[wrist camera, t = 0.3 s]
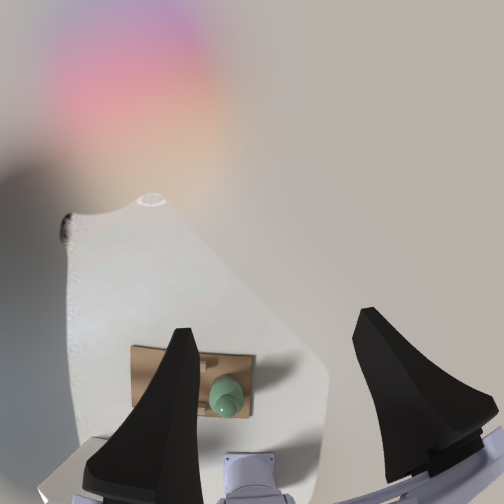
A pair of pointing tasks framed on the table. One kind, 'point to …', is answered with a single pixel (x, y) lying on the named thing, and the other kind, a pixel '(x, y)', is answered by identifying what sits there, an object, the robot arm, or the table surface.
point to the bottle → (226, 396)
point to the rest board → (210, 368)
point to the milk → (70, 476)
